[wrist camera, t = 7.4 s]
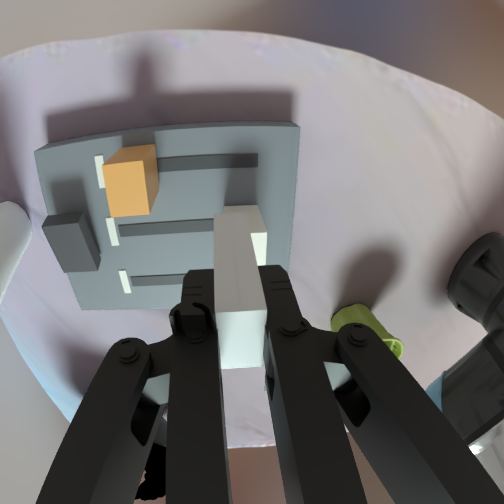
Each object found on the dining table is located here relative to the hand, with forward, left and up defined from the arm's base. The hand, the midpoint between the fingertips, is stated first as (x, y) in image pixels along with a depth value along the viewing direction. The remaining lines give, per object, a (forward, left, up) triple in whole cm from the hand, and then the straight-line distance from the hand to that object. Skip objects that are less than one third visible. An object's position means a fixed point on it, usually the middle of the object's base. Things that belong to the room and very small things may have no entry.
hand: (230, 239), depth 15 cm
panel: (+5, +6, -15) cm, 17 cm away
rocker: (+14, +6, -11) cm, 19 cm away
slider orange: (+7, 0, -12) cm, 14 cm away
